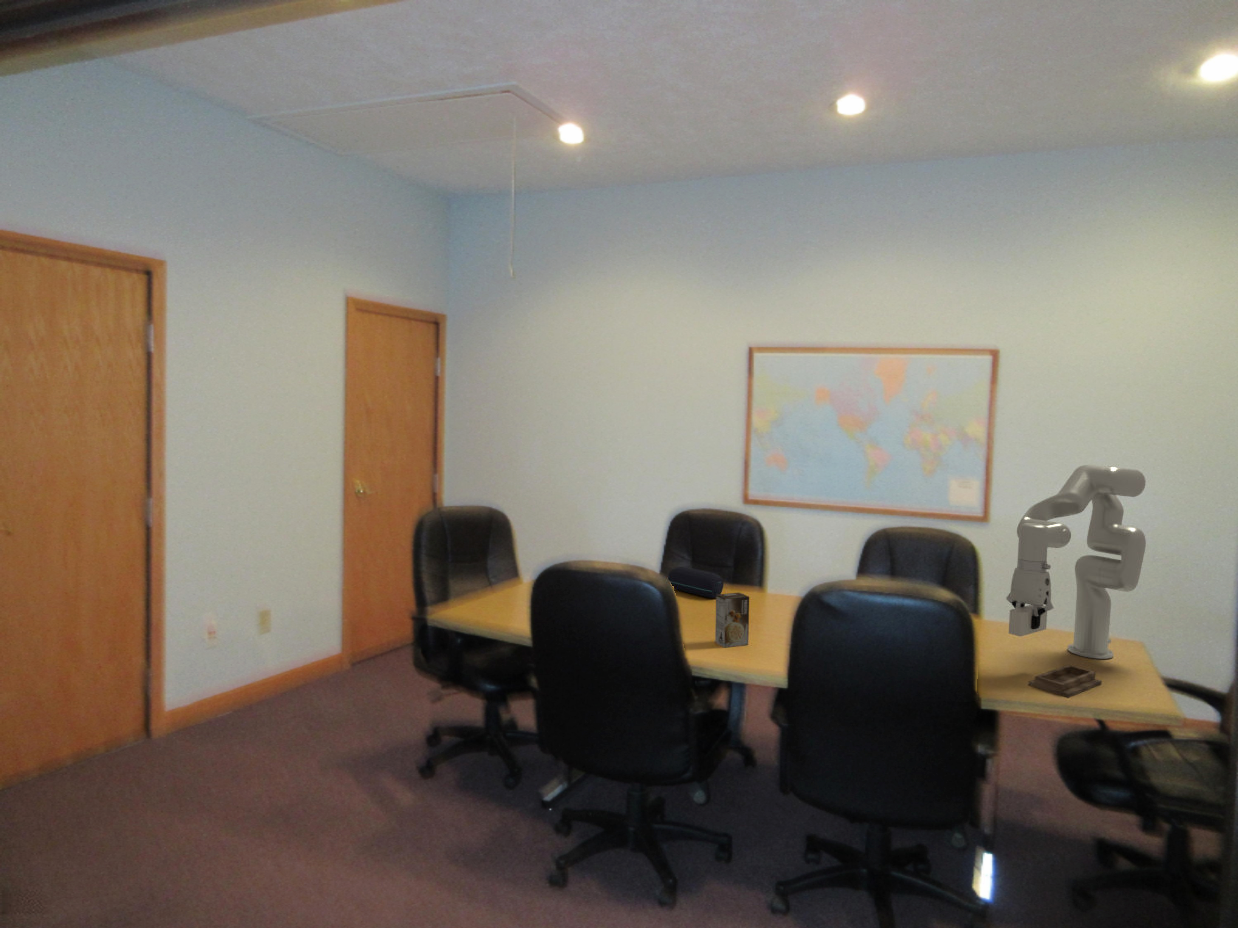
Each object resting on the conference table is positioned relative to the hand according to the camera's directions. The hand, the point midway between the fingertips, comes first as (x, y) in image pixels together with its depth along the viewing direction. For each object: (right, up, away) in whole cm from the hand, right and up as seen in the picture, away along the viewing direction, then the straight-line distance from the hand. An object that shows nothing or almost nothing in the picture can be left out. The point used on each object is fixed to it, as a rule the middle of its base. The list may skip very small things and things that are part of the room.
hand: (1028, 625), depth 230 cm
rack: (+6, -15, -8) cm, 18 cm away
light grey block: (0, -2, 0) cm, 2 cm away
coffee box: (-84, -11, +24) cm, 88 cm away
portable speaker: (-89, -6, +89) cm, 126 cm away
